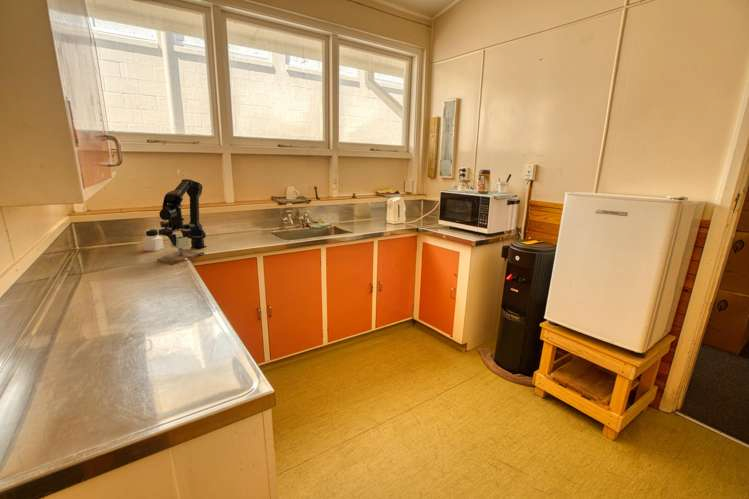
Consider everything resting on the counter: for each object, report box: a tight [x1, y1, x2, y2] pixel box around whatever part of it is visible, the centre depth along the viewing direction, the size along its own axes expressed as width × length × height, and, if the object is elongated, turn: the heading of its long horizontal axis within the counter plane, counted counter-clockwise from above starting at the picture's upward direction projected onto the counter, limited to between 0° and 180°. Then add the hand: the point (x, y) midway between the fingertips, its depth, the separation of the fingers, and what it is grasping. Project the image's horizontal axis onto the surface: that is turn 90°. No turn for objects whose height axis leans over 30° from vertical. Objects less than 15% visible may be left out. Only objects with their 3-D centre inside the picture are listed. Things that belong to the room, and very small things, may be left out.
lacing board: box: [156, 247, 205, 265], centre depth 192 cm, size 20×12×8 cm, turn 157°
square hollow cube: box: [169, 235, 190, 249], centre depth 190 cm, size 6×6×5 cm
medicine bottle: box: [142, 228, 165, 252], centre depth 206 cm, size 7×7×12 cm
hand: (179, 244), depth 191 cm, fingers closed on square hollow cube, 6 cm apart
